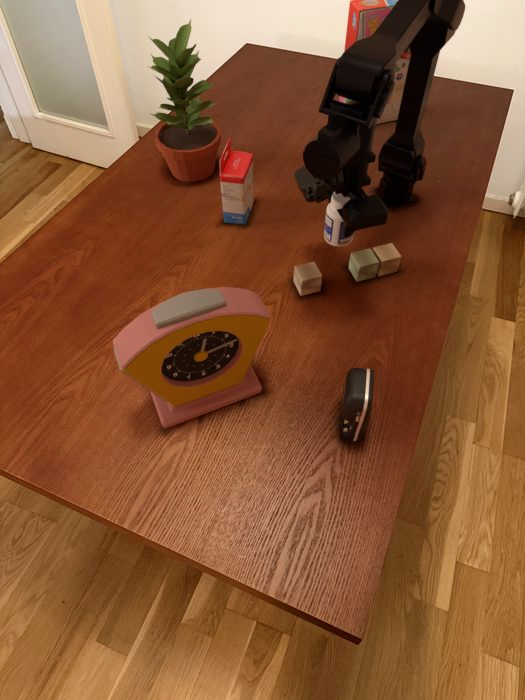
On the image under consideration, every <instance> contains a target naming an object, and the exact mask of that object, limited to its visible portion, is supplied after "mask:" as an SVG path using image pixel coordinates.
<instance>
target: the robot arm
mask: <svg viewBox="0 0 525 700" xmlns="http://www.w3.org/2000/svg"><path fill="white" fill-rule="evenodd" d="M465 11H466V4H465V1H464V0H398V1H397V2H396V4H395V5H394V6H393V8H392V9H391V10H390V12H389V13H388V14H387V16H386V17H385V18H384V20H383V21H382V22H381V24H380V25H379V26H378V28H377V29H376V30H375V32H374V33H373V34H372V35H371V36H370V37H367V38H364V39H361V40H358V41H355V42H354V43H353V44H352V45H351V46H350V47H349V48H348V49H347V50H346V51H345V52H344V51H343V53H342V54H341V55H340V56H339V57H338V58H337V59H336V61H335V62H334V65H333V68H332V71H331V73H330V77H329V79H328V82H327V85H326V88H325V90H324V93H323V96H322V100H321V103H320V105H319V108H318V113H320V114H323V115H326V116H327V123H326V124H325V125H324V126H322V127H321V128H320V129H319V130H318V132H317V134H316V135H315V136H314V137H313V138H312V139H311V140H310V141H309V142H308V143H307V144H306V146H305V147H304V150H303V151H302V161H303V164H304V165H303V166H301V167H299V168H298V169H297V170H295V171H294V173H293V174H294V175H293V176H294V178H295V180H296V184H297V186H298V189H299V191H300V193H301V194H302V196H303V198H304V200H305V201H306V203H314V202H315V203H316V204H320V203H322V202H324V201H327V200H328V204H329V203H330V202H331V198H332V195H333V192H335V193H336V194H340V193H341V194H342V196H343V197H349V198H350V200H349V201H348V202H347V203H346V204H345V205H344V206H343V208H341V209H337V211H338V213H339V215H340V216H341V218H342V219H343V232H344V237H345V238H347V237H350V236H351V235H352V234H353V233H354V234H355V232H357V231H360V230H365V229H368V228H373V227H377V226H382V225H385V224H386V223H387V222H388V218H389V215H390V210H389V208H393V207H399V206H402V205H403V206H404V205H407V204H411V203H414V202H415V198H414V197H413V195H412V193H413V190H414V187H415V184H416V183H417V182H419V181H423V178H424V176H425V171H426V167H427V163H428V162H427V159H426V157H425V156H424V155H423V154H424V151H425V146H426V142H425V139H424V136H423V134H422V131H421V128H422V124H423V120H424V116H425V112H426V108H427V104H428V101H429V96H430V93H431V89H432V84H433V81H434V77H435V73H436V69H437V65H438V62H439V57H440V53H441V50H442V49H443V48H444V47H445V46H446V45H447V44H448V42H449V41H450V40H451V39H452V38H453V37H454V35H455V33H456V32H457V31H458V29H459V28H460V26H461V23H462V21H463V18H464V14H465ZM408 46H409V49H410V51H411V56H410V61H409V65H408V70H407V75H406V80H405V85H404V89H403V94H402V99H401V104H400V109H399V113H398V118H397V120H396V124H395V127H394V131H393V132H392V134H390V136H389V137H388V138H387V139H386V141H384V143H383V145H382V146H381V148H380V149H379V150H380V151H379V153H378V157H377V156H376V154H375V153H374V151H373V150H372V148H373V143H374V139H375V133H376V127H377V124H376V122H377V118H379V119H380V118H381V115H382V113H383V111H384V109H385V107H386V104H387V102H388V100H389V98H390V96H391V93H392V91H393V89H394V86H395V82H394V78H395V64H396V63H397V61H398V60H399V58H400V57H401V55H402V54H403V53H404V51H405V50H406V48H407V47H408ZM336 96H338V97H339V96H341V97H344V98H347V99H350V100H349V101H348V102H347V103H343V102H340V101H339V100H336V99H334V98H335V97H336ZM376 158H377V171H378V172H380V173H381V172H382V177H381V178H380V180H379V184H378V187H376V188H375V193H376V194H367V193H366V192H365V191H364V189H363V187H367V186H371V183H372V178H371V177H370V176H369V174H368V171H369V166H370V164H371V163H375V162H376Z"/></svg>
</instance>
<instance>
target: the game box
mask: <svg viewBox="0 0 525 700" xmlns="http://www.w3.org/2000/svg"><path fill="white" fill-rule="evenodd" d="M397 1H398V0H349V5H348V15H347V23H346V31H345V32H346V33H345V41H344V42H345V43H344V49H343V50H344V51H343V53H344V52H345V51H346V50H347V49H348V48H349V47H350V46H351V45H352V44H353V43H354V42H355V41H358V40H361V39H364V38H367V37H370V36H371V35H372V34H373V33H374V32H375V30H376V29H377V28H378V26H379V25H380V24H381V22H382V21H383V20H384V18H385V17H386V16H387V14H388V13H389V12H390V10H391V9H392V8H393V6H394V5H395V4H396V2H397ZM410 56H411V51H410V49H409V46H408V47H407V48H406V50H405V51H404V53H403V54H402V55H401V57H400V58H399V60H398V61H397V63H396V64H395V78H394V82H395V86H394V89H393V91H392V93H391V96H390V98H389V100H388V102H387V104H386V107H385V109H384V111H383V113H382V115H381V118H380V119H379V118H377V122H376V125H380V124H381V125H382V124H385V123H386V124H387V123H390V122H395V121H397V118H398V113H399V109H400V104H401V99H402V94H403V89H404V85H405V80H406V75H407V70H408V65H409V61H410ZM349 100H350V99H347V98H344V97H341V96H338V101H340V102H343V103H347V102H348V101H349Z"/></svg>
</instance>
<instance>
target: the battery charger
mask: <svg viewBox="0 0 525 700" xmlns="http://www.w3.org/2000/svg"><path fill="white" fill-rule="evenodd" d="M374 387H375V371H374V370H373V369H370V368H362V367H352V368H350V369H348V371H347V373H346V375H345V379H344V383H343V388H342V396H341V397H342V399H341V406H340V414H341V423H340V424H341V425H340V435H341V437H342V438H344V439H346V440H349V441H353V442H360V441H361V440H362V438H363V434H364V432H365V428H366V426H367V423H368V420H369V418H370V414H371V411H372V407H373V402H374V401H373V400H374Z"/></svg>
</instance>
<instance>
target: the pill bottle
mask: <svg viewBox="0 0 525 700" xmlns="http://www.w3.org/2000/svg"><path fill="white" fill-rule="evenodd" d="M349 200H350V198H349V197H343V196H342V194H341V193H340V194H336V193H335V192H333V195H332V198H331V202H330V203H329V202H328V205H327V206H326V209H325V210H326V211H325V220H324V228H323V238H324V240H325V242H326V243H327V244H329V245H331V246H333V247H338V248H340V247H346V246H348V245H350V244H351V243H352V242H353V240H354V236H355V232H354V233H353V234H352V235H351V236H350V237H347V238H345V237H344V232H343V219H342V218H341V216H340V215H339V213H338V211H337V209H341V208H343V206H344V205H345V204H346V203H347V202H348V201H349Z"/></svg>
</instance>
